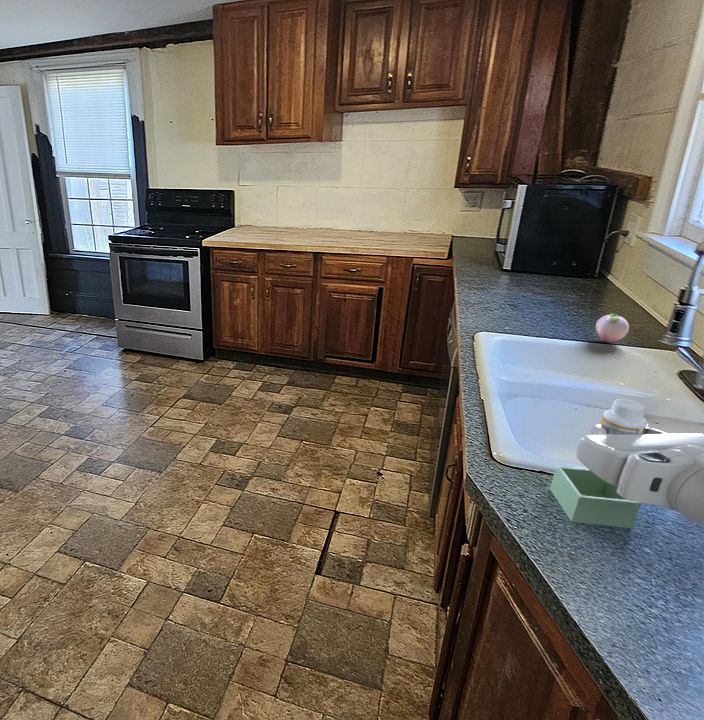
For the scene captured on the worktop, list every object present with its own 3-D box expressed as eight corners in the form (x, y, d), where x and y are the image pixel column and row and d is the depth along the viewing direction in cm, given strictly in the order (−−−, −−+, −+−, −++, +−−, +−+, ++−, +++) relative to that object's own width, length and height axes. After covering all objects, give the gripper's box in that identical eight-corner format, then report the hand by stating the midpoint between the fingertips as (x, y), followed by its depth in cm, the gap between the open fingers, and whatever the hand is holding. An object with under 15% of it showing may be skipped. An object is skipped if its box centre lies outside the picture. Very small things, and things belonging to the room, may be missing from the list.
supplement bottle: (611, 449, 88) (630, 395, 84) (640, 468, 83) (662, 411, 79) (582, 452, 87) (599, 397, 84) (610, 471, 82) (630, 413, 78)
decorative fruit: (627, 349, 163) (637, 318, 160) (596, 345, 166) (605, 315, 162) (618, 339, 172) (628, 310, 168) (589, 336, 174) (598, 307, 170)
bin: (604, 494, 95) (612, 470, 93) (631, 528, 87) (641, 503, 85) (549, 489, 97) (556, 465, 95) (571, 522, 88) (579, 497, 86)
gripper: (774, 458, 70) (686, 409, 83) (625, 460, 70) (560, 411, 82) (755, 497, 73) (673, 444, 86) (612, 499, 72) (550, 446, 85)
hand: (616, 428), depth 84 cm, fingers closed on supplement bottle, 5 cm apart
